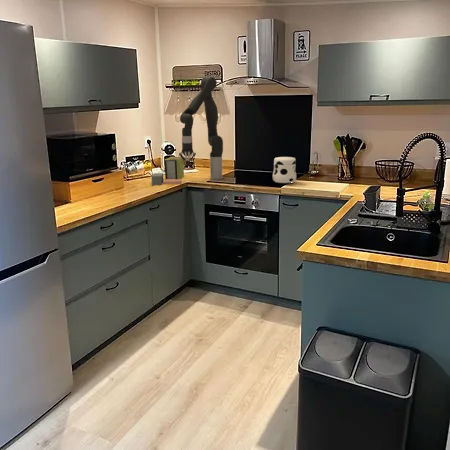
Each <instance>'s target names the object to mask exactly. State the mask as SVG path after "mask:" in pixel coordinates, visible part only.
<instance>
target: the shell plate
mask: <svg viewBox="0 0 450 450" xmlns="http://www.w3.org/2000/svg"><path fill="white" fill-rule="evenodd" d="M182 182H183V180H182V178H180V179H165V178H164V181H163V182H162V185H181V184H182Z"/></svg>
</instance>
